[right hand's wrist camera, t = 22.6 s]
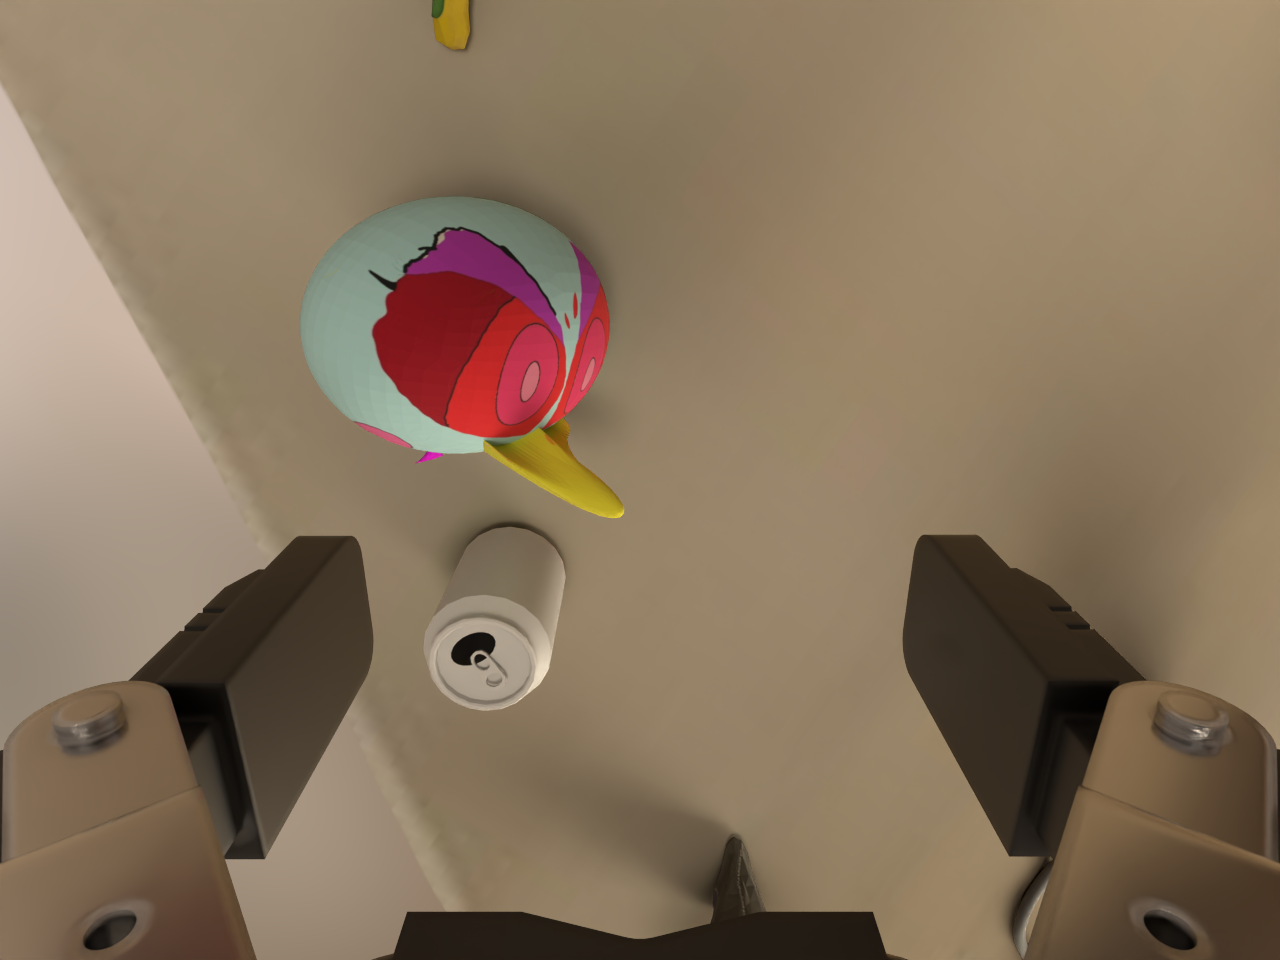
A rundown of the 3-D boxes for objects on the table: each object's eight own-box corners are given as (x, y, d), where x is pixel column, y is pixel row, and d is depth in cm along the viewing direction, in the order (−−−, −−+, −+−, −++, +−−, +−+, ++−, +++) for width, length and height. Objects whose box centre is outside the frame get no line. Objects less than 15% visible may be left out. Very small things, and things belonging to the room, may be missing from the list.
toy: (472, 641, 32) (566, 302, 26) (220, 441, 39) (246, 137, 33) (682, 528, 47) (776, 293, 40) (471, 396, 54) (522, 179, 48)
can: (523, 501, 53) (492, 586, 42) (587, 581, 55) (574, 682, 44) (439, 557, 55) (387, 653, 43) (505, 632, 57) (471, 742, 46)
